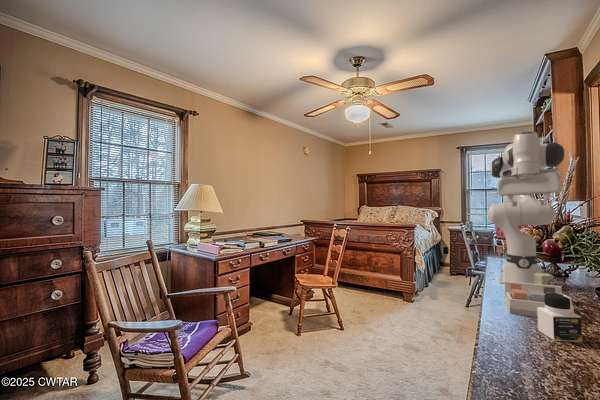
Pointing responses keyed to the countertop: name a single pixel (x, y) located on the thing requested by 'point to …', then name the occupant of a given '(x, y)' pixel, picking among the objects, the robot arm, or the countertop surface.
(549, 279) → the skincare box
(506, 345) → the countertop surface
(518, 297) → the terracotta key
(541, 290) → the cream open box
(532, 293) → the slate key
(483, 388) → the countertop surface
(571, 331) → the medicine bottle
